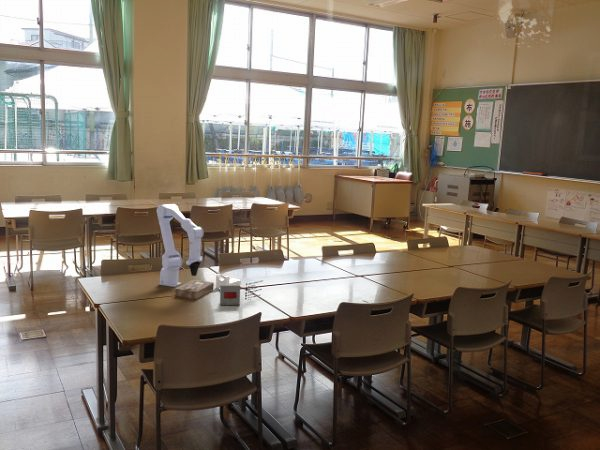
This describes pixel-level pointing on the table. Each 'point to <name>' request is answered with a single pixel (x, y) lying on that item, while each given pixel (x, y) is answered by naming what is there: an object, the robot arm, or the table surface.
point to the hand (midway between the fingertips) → (193, 275)
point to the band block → (196, 292)
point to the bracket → (226, 281)
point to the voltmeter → (233, 294)
